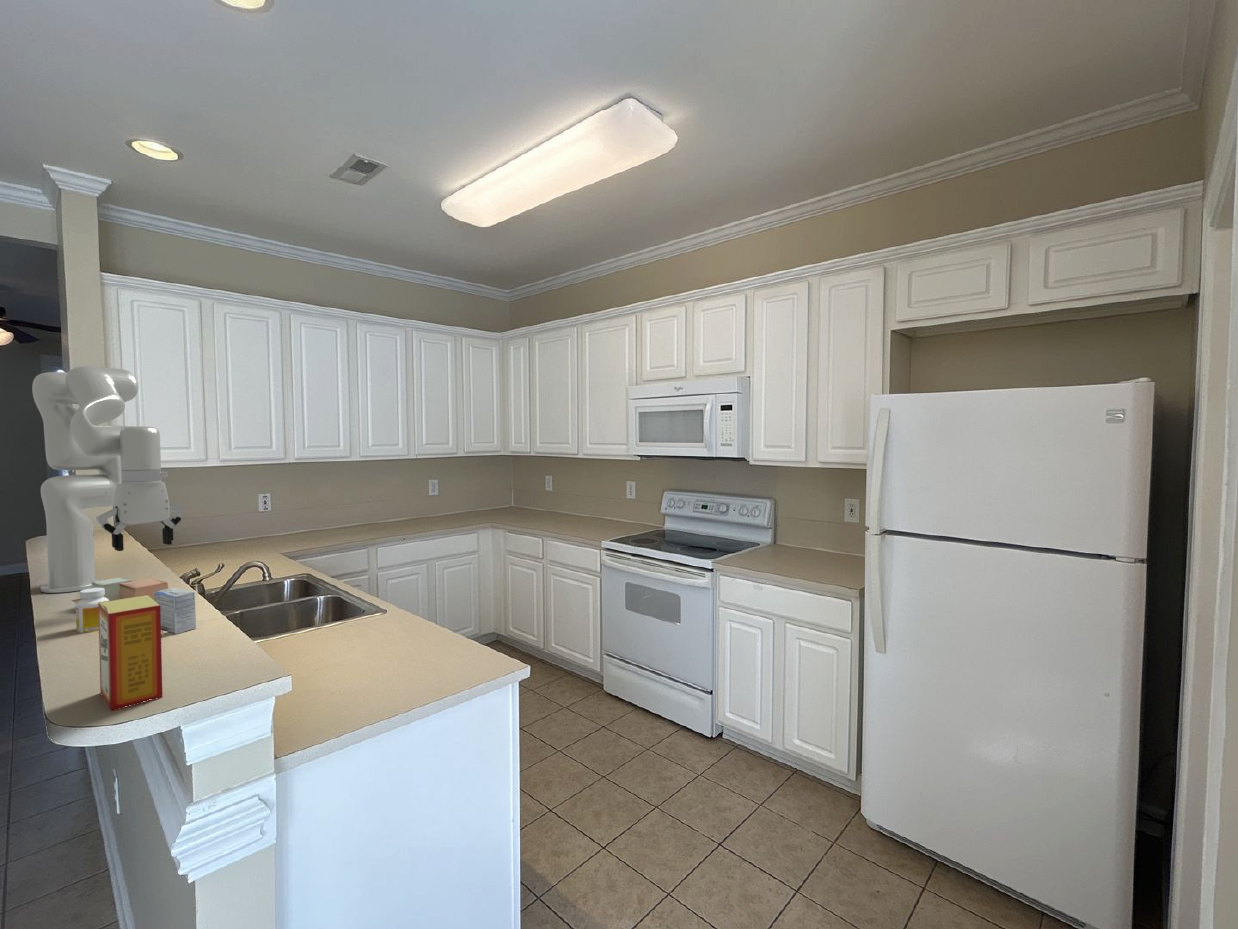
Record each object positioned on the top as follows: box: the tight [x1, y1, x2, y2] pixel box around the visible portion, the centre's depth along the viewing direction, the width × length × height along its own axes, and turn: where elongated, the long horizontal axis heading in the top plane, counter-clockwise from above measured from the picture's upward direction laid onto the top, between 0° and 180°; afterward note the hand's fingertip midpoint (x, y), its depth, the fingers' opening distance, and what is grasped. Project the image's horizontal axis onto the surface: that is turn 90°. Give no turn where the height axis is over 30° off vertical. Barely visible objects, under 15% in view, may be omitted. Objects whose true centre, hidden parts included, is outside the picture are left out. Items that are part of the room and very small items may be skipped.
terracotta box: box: [120, 577, 169, 600], centre depth 142 cm, size 9×7×6 cm
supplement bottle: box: [75, 588, 109, 633], centre depth 126 cm, size 5×5×10 cm
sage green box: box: [92, 576, 133, 601], centre depth 143 cm, size 6×6×6 cm
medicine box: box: [154, 587, 197, 635], centre depth 130 cm, size 8×4×9 cm, turn 65°
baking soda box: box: [98, 595, 163, 712], centre depth 97 cm, size 10×6×16 cm
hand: (143, 547), depth 141 cm, fingers open, 9 cm apart
